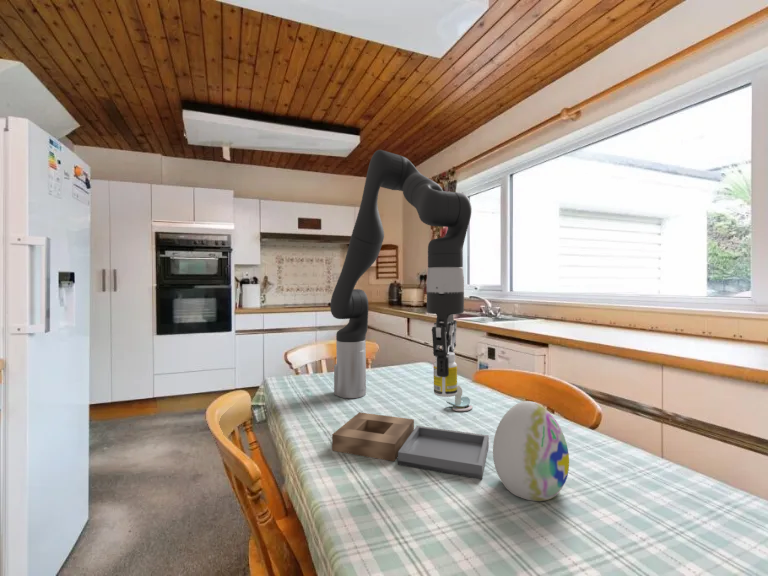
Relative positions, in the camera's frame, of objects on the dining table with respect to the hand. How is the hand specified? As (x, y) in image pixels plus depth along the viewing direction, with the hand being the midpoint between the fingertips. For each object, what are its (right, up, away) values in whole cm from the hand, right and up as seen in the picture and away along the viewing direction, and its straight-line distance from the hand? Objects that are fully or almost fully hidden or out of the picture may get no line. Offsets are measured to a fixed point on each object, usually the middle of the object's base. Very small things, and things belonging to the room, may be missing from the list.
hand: (445, 372), depth 77 cm
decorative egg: (+13, -18, -12) cm, 25 cm away
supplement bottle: (0, -5, 0) cm, 5 cm away
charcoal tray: (0, -17, 0) cm, 17 cm away
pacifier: (+9, -17, +29) cm, 34 cm away
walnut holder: (-15, -17, +7) cm, 23 cm away
